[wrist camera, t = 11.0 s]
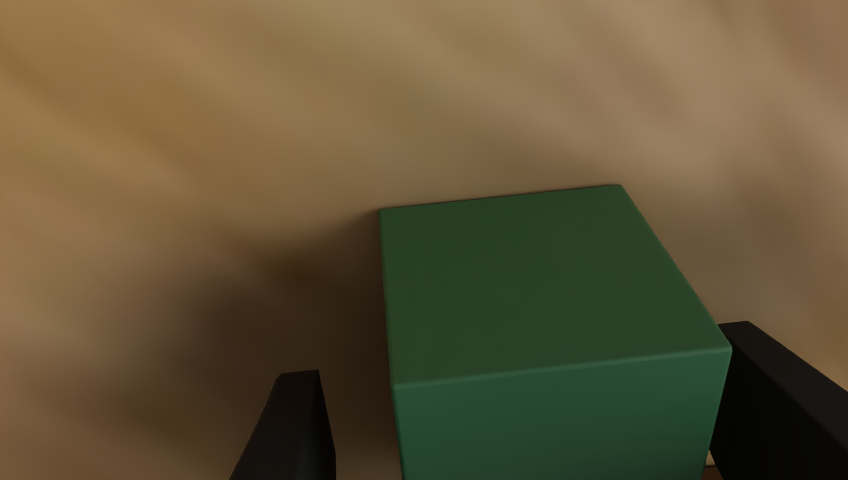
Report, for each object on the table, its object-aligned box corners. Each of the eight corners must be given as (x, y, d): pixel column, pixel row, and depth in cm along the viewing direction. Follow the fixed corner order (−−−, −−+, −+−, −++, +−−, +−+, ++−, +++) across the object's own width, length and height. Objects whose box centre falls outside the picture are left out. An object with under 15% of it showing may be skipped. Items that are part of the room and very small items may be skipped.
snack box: (407, 454, 14) (425, 654, 11) (378, 208, 11) (390, 386, 8) (595, 431, 15) (668, 623, 11) (621, 183, 11) (736, 348, 8)
